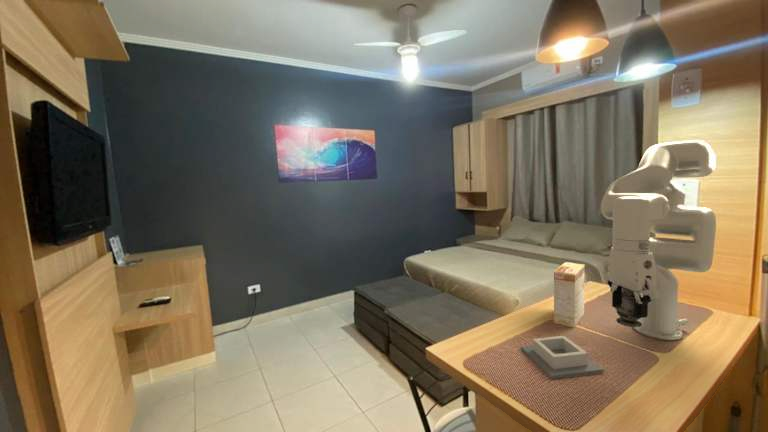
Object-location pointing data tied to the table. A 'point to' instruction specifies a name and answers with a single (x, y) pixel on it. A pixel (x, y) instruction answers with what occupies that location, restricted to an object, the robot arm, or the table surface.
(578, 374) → the socket
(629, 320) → the grey turned piece
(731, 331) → the table surface
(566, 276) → the coffeecake box
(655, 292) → the robot arm
